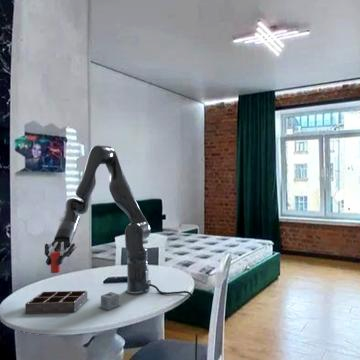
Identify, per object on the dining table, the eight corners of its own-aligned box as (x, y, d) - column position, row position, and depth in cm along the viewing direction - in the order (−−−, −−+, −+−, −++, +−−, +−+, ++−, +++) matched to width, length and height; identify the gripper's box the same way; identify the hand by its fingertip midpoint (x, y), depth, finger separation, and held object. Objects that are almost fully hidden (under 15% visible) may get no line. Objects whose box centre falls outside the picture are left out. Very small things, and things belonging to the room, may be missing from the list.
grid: (87, 299, 138) (87, 290, 138) (74, 312, 125) (74, 302, 125) (43, 300, 136) (43, 291, 136) (25, 313, 124) (25, 303, 124)
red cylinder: (62, 270, 141) (61, 251, 141) (57, 273, 137) (57, 253, 137) (53, 270, 141) (53, 251, 141) (48, 273, 137) (48, 253, 137)
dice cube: (111, 303, 134) (111, 291, 134) (118, 305, 131) (118, 294, 131) (100, 307, 130) (100, 295, 130) (108, 310, 127) (108, 298, 127)
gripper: (48, 227, 146) (32, 260, 134) (79, 227, 147) (66, 260, 135) (54, 236, 151) (39, 269, 139) (83, 236, 152) (72, 268, 140)
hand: (53, 264), depth 137 cm, fingers closed on red cylinder, 3 cm apart
